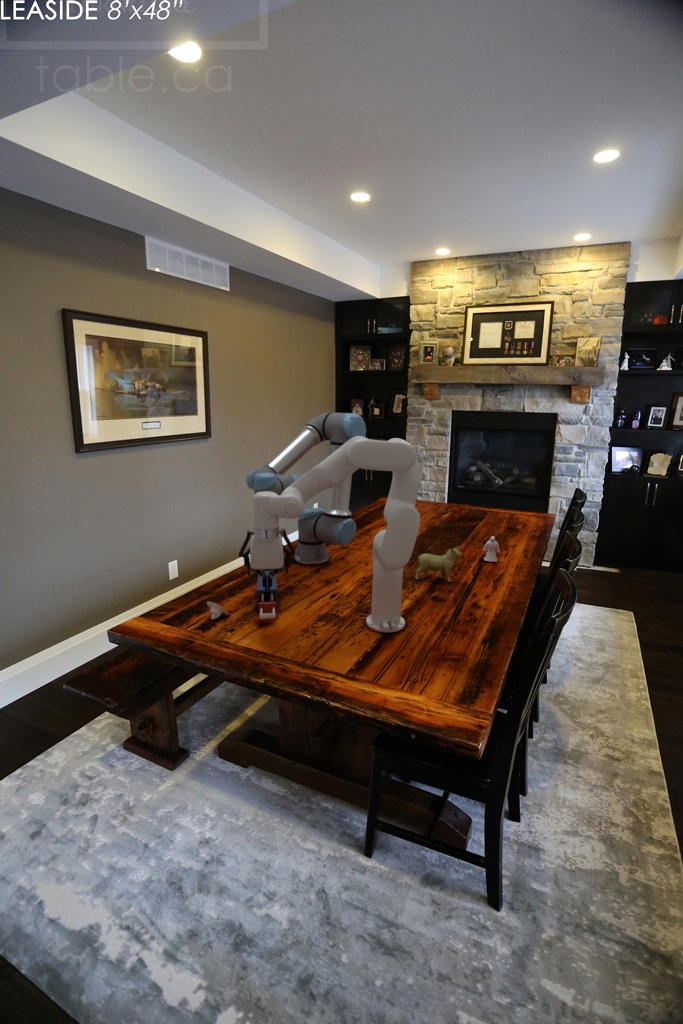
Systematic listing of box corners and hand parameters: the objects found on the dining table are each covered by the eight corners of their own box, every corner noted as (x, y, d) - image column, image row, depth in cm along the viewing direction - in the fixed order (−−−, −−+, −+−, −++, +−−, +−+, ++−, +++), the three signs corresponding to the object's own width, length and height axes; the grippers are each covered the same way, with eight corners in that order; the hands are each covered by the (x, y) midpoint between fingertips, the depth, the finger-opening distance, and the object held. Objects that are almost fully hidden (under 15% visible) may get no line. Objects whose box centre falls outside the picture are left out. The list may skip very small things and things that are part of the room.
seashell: (213, 627, 166) (197, 609, 165) (224, 617, 169) (208, 599, 168) (221, 623, 159) (205, 604, 159) (233, 612, 163) (217, 594, 162)
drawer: (276, 629, 156) (276, 611, 154) (258, 630, 155) (258, 612, 153) (275, 599, 177) (275, 583, 176) (259, 600, 176) (259, 584, 175)
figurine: (481, 562, 222) (483, 536, 219) (482, 556, 230) (484, 531, 227) (499, 564, 220) (501, 538, 217) (499, 558, 228) (501, 533, 225)
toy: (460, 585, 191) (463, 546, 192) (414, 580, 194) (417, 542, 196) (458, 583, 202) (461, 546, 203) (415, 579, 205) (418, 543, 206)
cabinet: (277, 611, 170) (277, 589, 168) (257, 612, 169) (257, 589, 168) (276, 590, 187) (276, 570, 185) (258, 591, 186) (257, 571, 184)
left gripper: (300, 513, 182) (301, 567, 188) (230, 515, 179) (233, 571, 184) (302, 518, 175) (302, 575, 180) (229, 521, 171) (232, 578, 177)
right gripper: (290, 528, 156) (290, 583, 161) (241, 529, 154) (243, 585, 159) (291, 535, 149) (292, 592, 154) (240, 536, 147) (242, 594, 151)
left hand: (267, 573), depth 182 cm, fingers open, 13 cm apart
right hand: (267, 588), depth 156 cm, fingers closed
